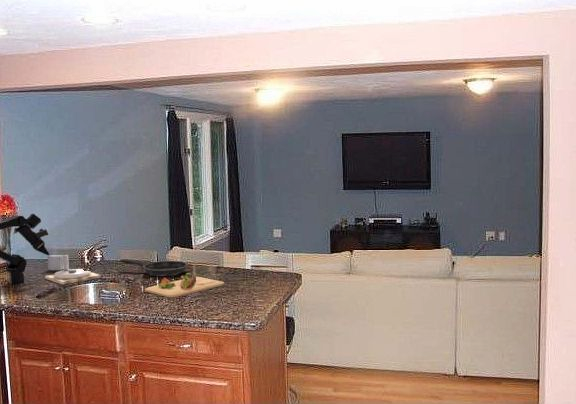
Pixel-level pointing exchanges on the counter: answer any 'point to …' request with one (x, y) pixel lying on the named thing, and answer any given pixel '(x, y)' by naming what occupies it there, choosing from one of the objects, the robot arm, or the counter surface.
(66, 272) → the white base with post
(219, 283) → the cutting board
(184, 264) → the frying pan
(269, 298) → the counter surface
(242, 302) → the counter surface
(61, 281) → the dial base
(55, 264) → the medicine box
